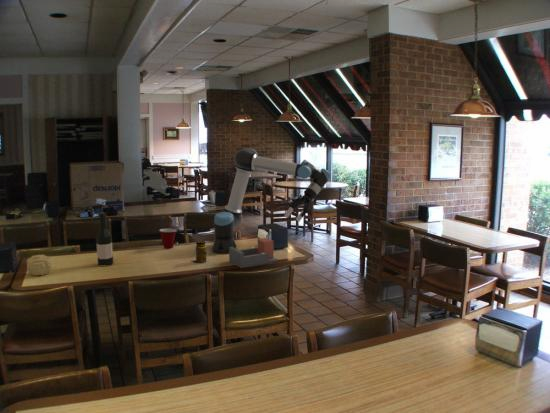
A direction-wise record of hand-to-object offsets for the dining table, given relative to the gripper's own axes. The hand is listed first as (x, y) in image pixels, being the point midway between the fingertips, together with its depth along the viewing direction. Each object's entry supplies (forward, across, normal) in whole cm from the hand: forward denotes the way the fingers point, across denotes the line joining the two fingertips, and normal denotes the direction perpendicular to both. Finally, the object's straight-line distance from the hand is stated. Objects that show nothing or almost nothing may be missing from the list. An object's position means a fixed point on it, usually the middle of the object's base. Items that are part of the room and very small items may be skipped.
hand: (291, 218), depth 288 cm
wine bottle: (+86, +37, +58) cm, 110 cm away
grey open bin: (+34, 0, +3) cm, 34 cm away
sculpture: (+110, +36, +82) cm, 142 cm away
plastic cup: (+57, +53, +28) cm, 83 cm away
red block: (+27, 0, -2) cm, 27 cm away
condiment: (+53, +15, +22) cm, 60 cm away
